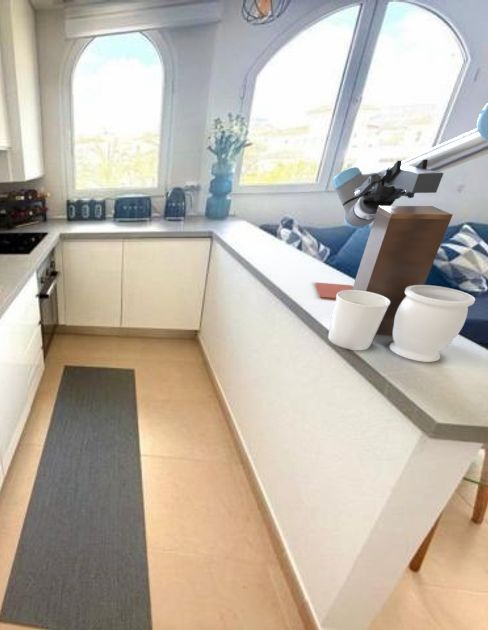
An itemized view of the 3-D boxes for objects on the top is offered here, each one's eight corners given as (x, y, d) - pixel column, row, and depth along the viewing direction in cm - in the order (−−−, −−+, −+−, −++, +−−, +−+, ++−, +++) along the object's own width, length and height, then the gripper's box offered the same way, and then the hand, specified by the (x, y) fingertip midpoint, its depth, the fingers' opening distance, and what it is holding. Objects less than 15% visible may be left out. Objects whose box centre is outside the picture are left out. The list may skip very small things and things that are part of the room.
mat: (351, 287, 115) (351, 285, 114) (360, 302, 104) (360, 300, 104) (315, 284, 119) (315, 282, 119) (320, 298, 109) (321, 296, 108)
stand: (389, 318, 94) (432, 205, 81) (402, 337, 85) (453, 214, 72) (344, 313, 98) (378, 205, 85) (352, 331, 90) (391, 213, 77)
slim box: (405, 182, 90) (410, 166, 88) (436, 192, 74) (443, 172, 72) (385, 182, 92) (390, 166, 90) (411, 192, 76) (418, 173, 74)
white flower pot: (382, 353, 80) (400, 307, 75) (334, 350, 82) (348, 305, 77) (361, 333, 88) (375, 290, 83) (317, 331, 91) (329, 289, 86)
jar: (396, 362, 76) (422, 301, 70) (374, 339, 85) (395, 283, 79) (457, 368, 73) (490, 304, 67) (428, 343, 82) (454, 285, 76)
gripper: (409, 214, 100) (458, 179, 79) (337, 214, 108) (364, 181, 86) (413, 189, 100) (462, 147, 79) (341, 190, 108) (369, 152, 87)
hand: (411, 165), depth 83 cm, fingers closed on slim box, 4 cm apart
